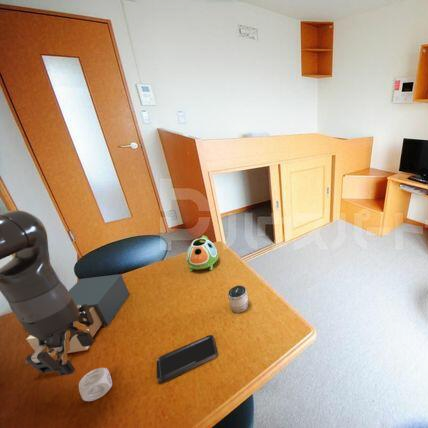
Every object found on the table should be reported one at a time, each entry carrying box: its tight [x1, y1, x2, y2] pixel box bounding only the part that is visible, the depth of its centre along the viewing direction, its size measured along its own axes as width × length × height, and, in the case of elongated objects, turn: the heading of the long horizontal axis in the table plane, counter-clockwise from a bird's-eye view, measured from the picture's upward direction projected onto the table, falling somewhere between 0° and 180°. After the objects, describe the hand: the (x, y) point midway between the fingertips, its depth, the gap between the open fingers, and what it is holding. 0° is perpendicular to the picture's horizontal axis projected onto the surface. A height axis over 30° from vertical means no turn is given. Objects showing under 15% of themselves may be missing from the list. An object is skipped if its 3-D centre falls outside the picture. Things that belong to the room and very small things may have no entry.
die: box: [78, 367, 113, 402], centre depth 60 cm, size 5×5×5 cm
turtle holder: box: [185, 235, 219, 272], centre depth 108 cm, size 12×18×12 cm
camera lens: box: [227, 285, 249, 314], centre depth 85 cm, size 6×6×8 cm
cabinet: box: [68, 273, 130, 328], centre depth 81 cm, size 15×13×10 cm
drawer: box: [24, 306, 103, 366], centre depth 70 cm, size 19×11×8 cm, turn 13°
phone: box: [156, 334, 219, 384], centre depth 68 cm, size 8×1×15 cm
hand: (79, 358), depth 56 cm, fingers open, 6 cm apart
